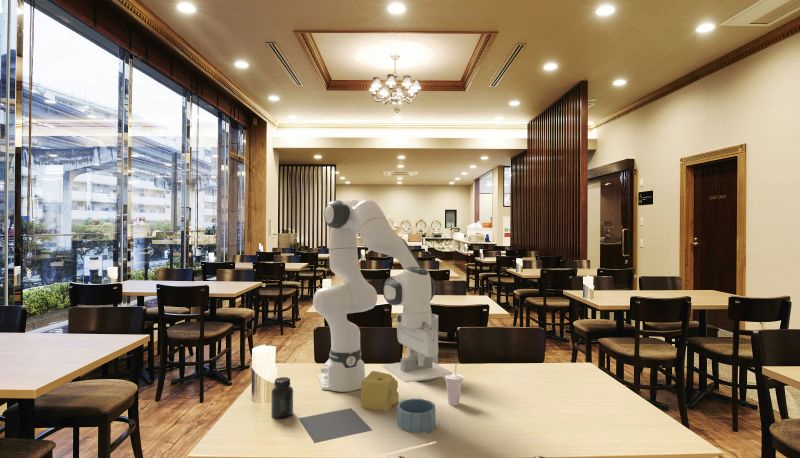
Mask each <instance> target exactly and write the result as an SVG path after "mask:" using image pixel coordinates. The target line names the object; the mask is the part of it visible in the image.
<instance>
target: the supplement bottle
mask: <svg viewBox="0 0 800 458" xmlns="http://www.w3.org/2000/svg"><path fill="white" fill-rule="evenodd" d="M270 395H271V398H270V399H271V400H270V401H271V405H270V406H271V411H270V412H271V413H270V414H271V418H272V419H274V420H285V419H289V418H291V417H292V416H293V415H294V389H293V387H292V386H291V378H289V377H288V376H287V377H286V376H284V377H277V378H275V380H274V387H273V388H272V389H271V393H270Z"/></svg>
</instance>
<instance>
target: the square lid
mask: <svg viewBox="0 0 800 458" xmlns="http://www.w3.org/2000/svg"><path fill="white" fill-rule="evenodd" d="M416 360H418V356H415V357H408V358H407V357H402V358H400V362H394V363H388V364H382V368H383V369H384V370H386V371H388V372H389V373H390V374H392V375H393V376H395V377H397V378H398V379H400V380H401V381H403V382H404V383H411V382H417V381H419V380H424V379H430V378H435V379H437V378H441V377H445V376H447V375H452V373H453V372H452V371H450V370H449V369H447V368H445V367H443V366H441V365H440V364H438V365H437V364H435V363H433V362H432V357H426V356H425V359H424V365H423V366H420V367H419V366H418V365H416ZM436 377H437V378H436ZM419 382H420V381H419Z"/></svg>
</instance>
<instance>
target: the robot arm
mask: <svg viewBox="0 0 800 458" xmlns="http://www.w3.org/2000/svg"><path fill="white" fill-rule="evenodd" d="M323 214H324V215H323V216H324V221H325V223H326V225H327V226H328V227H330V228H329V235H328V236H329V237H328V254H329V255H328V256H329V268H330V271H331V272H332V273H333V274H335V275H336V276H338V277H341V278H342V281H343V284H341V285H339V284H338V285H328V286H325V287H321V288H318V289H317V290H316V291H315V293H314V294H313V297H312V298H313V299H312V306H313V308H314V310H315V311H316V313H318V315H320V316H321V317H323V318H324V319H325V321H326V322H327V324H328V326H329V330H330V337H331V338H330V341H331V342H330V345H331V347H330V350H329V357H328V360H326V362H325V363H324V364H323V366H321V369H320V372H321V373H319V374H318V381H319V385H320V388H321V390H323V391H333V392H340V393H341V392H342V393H343V392H344V393H346V392H354V391H358V390H361V383H362V380H363V379H365V378H366V371H365V370H366V369H365V362H364V361H363V360H362V349H361V330H360V327H359V326H358V325H357V324H355V323H353V322H351V321H349V320H348V317H347V315H348V314H354V313H362V312H363V313H364V312H367V311H369V310H372V309H374V307H376V305H377V304H378V303H377V302H378V293H377V290H376V288H375V287H374V286H373V285H371V284H370V283H369V282H368V281H367V280H366V278H364V276H363V274H362V272H361V271H362V270H361V268H360V263H359V255H358V254H359V253H358V252H359V251H358V242H357V241H358V240H357V236H358V234H359V236H360V239H361V241H362V243H363V244H364V246H366V248H368V250H370V251H372V252H375V253H379V254H382V255H385V256H386V255H387V256H389V257H392V258H393V259H395V260H396V261H398V263H400V265H401V267H402V268H403V270H404V271H403V272H401V273H399V274H397V275H394V276H391V277H388V278H387V279H386V280H384V281H385V282H384V284H383V288H382V293H383V298H384V300H385V301H386V302H387V303H388V304H389V305H390V306H396V307H397V306H402V313H399V314H396V316H395V319H396V322H397V324H396V335H397V341H398V343H399V344H400V345H403V346H405V347H408V351H409V354H410V357H415V356H416V352H418V360H416V365H418V366H419V367H420V366H423V365H424V359H425V356H426V357H435V356H437V355H438V356H439V338H438V339H437V334H436V332H435V330H434V328H433V326H432V325H431V314H432V308H431V301H432V299H433V298H434V297H435V294H436V284H435V281H434V279H433V277H432V276H431V275H430V272H429V271H428V269H426V268H424V267H423V266H422V264H421V263H420V261H419V259H418V258H417V256H416V255H415V253H414V251H413V250H412V249H411V247H410V246H409V244H408V243H407V242H406V240H405V239H404V238H402V237H401V236H400V235H399V234H398V233H396V231H395V230H394V229H393V228H392V226H391V225H390V224H389V221H388V219H387V216H386V215H385V213H384V211H383V210H382V208H381V206H379V204H378V203H377V202H376V201H374V200H372V199H364V200H358V199H357V200H355V199H353V200H338V199H337V200H333V201H330V202H328V203H327V205H326V206H325V209H324V212H323Z"/></svg>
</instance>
